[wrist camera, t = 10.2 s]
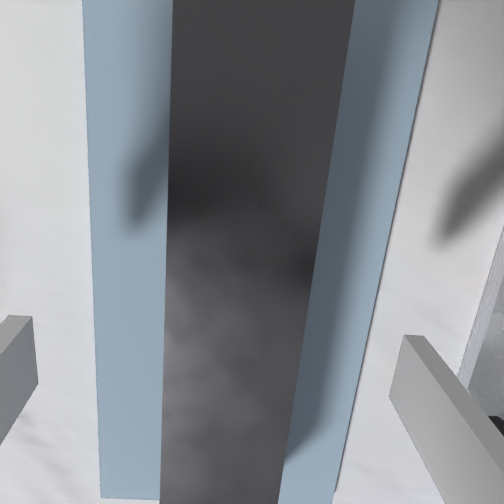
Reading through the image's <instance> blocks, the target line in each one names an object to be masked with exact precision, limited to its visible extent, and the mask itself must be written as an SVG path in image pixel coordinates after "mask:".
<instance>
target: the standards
mask: <svg viewBox="0 0 504 504" xmlns="http://www.w3.org/2000/svg"><path fill="white" fill-rule="evenodd" d="M458 380H459V381H460V382H461V383H462V385H463V386H464V387H465V388H466V390H467V391H468V392H469V393H470V395H471V396H472V397H473V398H474V400H475V401H476V402H477V404H478V405H479V406H480V407H481V409H482V410H483V411H484V412H485V414H486V415H487V416H498V417H500V418H501V419H502V420H504V228H503V232H502V235H501V238H500V241H499V245H498V248H497V251H496V254H495V258H494V261H493V264H492V267H491V271H490V274H489V277H488V281H487V284H486V287H485V290H484V294H483V297H482V300H481V303H480V307H479V310H478V313H477V316H476V320H475V323H474V326H473V329H472V333H471V336H470V339H469V343H468V346H467V349H466V352H465V356H464V359H463V362H462V365H461V369H460V372H459V375H458Z"/></svg>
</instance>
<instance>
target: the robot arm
mask: <svg viewBox="0 0 504 504" xmlns="http://www.w3.org/2000/svg"><path fill="white" fill-rule="evenodd" d="M37 385H38V376H37V365H36V354H35V343H34V332H33V321H32V316H16V315H8V316H7V317H6V319H5V320H4V321H3V322H2V323H1V324H0V445H1V443H2V442H3V440H4V438H5V437H6V435H7V434H8V432H9V430H10V429H11V427H12V425H13V424H14V422H15V420H16V419H17V417H18V416H19V414H20V412H21V411H22V409H23V407H24V406H25V404H26V403H27V401H28V399H29V398H30V396H31V394H32V393H33V391H34V390H35V388H36V386H37ZM389 398H390V400H391V402H392V404H393V405H394V407H395V409H396V411H397V413H398V415H399V417H400V419H401V421H402V423H403V424H404V426H405V428H406V430H407V432H408V434H409V436H410V438H411V440H412V441H413V443H414V445H415V447H416V449H417V451H418V453H419V455H420V457H421V458H422V460H423V462H424V464H425V466H426V468H427V470H428V472H429V474H430V475H431V477H432V479H433V481H434V483H435V485H436V487H437V489H438V491H439V492H440V494H441V496H442V498H443V500H444V502H445V504H504V420H502V419H501V418H500V417H498V416H487V415H486V414H485V412H484V411H483V410H482V409H481V407H480V406H479V405H478V404H477V402H476V401H475V400H474V398H473V397H472V396H471V395H470V393H469V392H468V391H467V390H466V388H465V387H464V386H463V385H462V383H461V382H460V381H459V380H458V378H457V377H456V376H455V375H454V373H453V372H452V371H451V370H450V368H449V367H448V366H447V364H446V363H445V362H444V361H443V359H442V358H441V357H440V356H439V354H438V353H437V352H436V351H435V349H434V348H433V347H432V346H431V344H430V343H429V342H428V341H427V339H426V338H425V337H424V336H417V335H404V336H403V340H402V344H401V348H400V352H399V356H398V360H397V365H396V369H395V373H394V377H393V381H392V385H391V389H390V393H389Z"/></svg>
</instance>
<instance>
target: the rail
mask: <svg viewBox="0 0 504 504" xmlns="http://www.w3.org/2000/svg"><path fill="white" fill-rule="evenodd" d="M354 6H355V0H173V10H172V49H171V87H170V125H169V163H168V202H167V240H166V278H165V316H164V354H163V393H162V431H161V469H160V504H278V500H279V493H280V487H281V480H282V474H283V467H284V461H285V454H286V448H287V441H288V435H289V428H290V422H291V415H292V409H293V402H294V396H295V389H296V383H297V376H298V370H299V363H300V357H301V350H302V344H303V337H304V331H305V324H306V318H307V311H308V305H309V298H310V292H311V285H312V279H313V272H314V266H315V259H316V253H317V246H318V240H319V233H320V227H321V220H322V214H323V207H324V201H325V194H326V188H327V181H328V175H329V168H330V162H331V156H332V149H333V143H334V136H335V130H336V123H337V117H338V110H339V104H340V97H341V91H342V84H343V78H344V71H345V65H346V58H347V52H348V45H349V39H350V32H351V26H352V19H353V13H354Z"/></svg>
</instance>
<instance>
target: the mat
mask: <svg viewBox="0 0 504 504" xmlns="http://www.w3.org/2000/svg"><path fill="white" fill-rule="evenodd" d="M438 1H439V0H355V6H354V13H353V19H352V26H351V32H350V39H349V45H348V52H347V58H346V65H345V71H344V78H343V84H342V91H341V97H340V104H339V110H338V117H337V123H336V130H335V136H334V143H333V149H332V156H331V162H330V168H329V175H328V181H327V188H326V194H325V201H324V207H323V214H322V220H321V227H320V233H319V240H318V246H317V253H316V259H315V266H314V272H313V279H312V285H311V292H310V298H309V305H308V311H307V318H306V324H305V331H304V337H303V344H302V350H301V357H300V363H299V370H298V376H297V383H296V389H295V396H294V402H293V409H292V415H291V422H290V428H289V435H288V441H287V448H286V454H285V461H284V467H283V474H282V480H281V487H280V493H279V500H278V504H332V501H333V496H334V491H335V486H336V482H337V477H338V472H339V468H340V463H341V458H342V453H343V449H344V444H345V439H346V435H347V430H348V425H349V421H350V416H351V411H352V406H353V402H354V397H355V392H356V388H357V383H358V378H359V373H360V369H361V364H362V359H363V355H364V350H365V345H366V340H367V336H368V331H369V326H370V322H371V317H372V312H373V307H374V303H375V298H376V293H377V289H378V284H379V279H380V274H381V270H382V265H383V260H384V256H385V251H386V246H387V241H388V237H389V232H390V227H391V223H392V218H393V213H394V208H395V204H396V199H397V194H398V190H399V185H400V180H401V175H402V171H403V166H404V161H405V157H406V152H407V147H408V142H409V138H410V133H411V128H412V124H413V119H414V114H415V109H416V105H417V100H418V95H419V91H420V86H421V81H422V76H423V72H424V67H425V62H426V58H427V53H428V48H429V43H430V39H431V34H432V29H433V25H434V20H435V15H436V10H437V6H438ZM82 7H83V34H84V60H85V87H86V114H87V141H88V168H89V195H90V222H91V249H92V276H93V303H94V329H95V356H96V383H97V410H98V437H99V464H100V491H101V498H113V499H142V500H160V469H161V431H162V393H163V354H164V316H165V278H166V240H167V202H168V163H169V125H170V87H171V49H172V10H173V0H82Z"/></svg>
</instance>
